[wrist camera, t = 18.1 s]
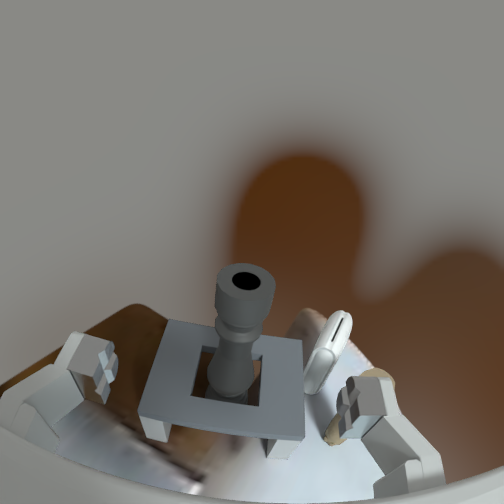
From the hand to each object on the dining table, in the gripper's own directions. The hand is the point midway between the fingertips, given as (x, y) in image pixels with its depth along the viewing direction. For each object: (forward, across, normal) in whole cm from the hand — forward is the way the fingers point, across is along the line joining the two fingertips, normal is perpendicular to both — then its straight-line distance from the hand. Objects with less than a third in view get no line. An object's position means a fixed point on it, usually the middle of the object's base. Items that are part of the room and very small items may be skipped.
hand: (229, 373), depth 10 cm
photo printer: (+26, -15, +35) cm, 47 cm away
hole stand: (+18, 0, +35) cm, 39 cm away
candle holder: (+18, 0, +35) cm, 40 cm away
